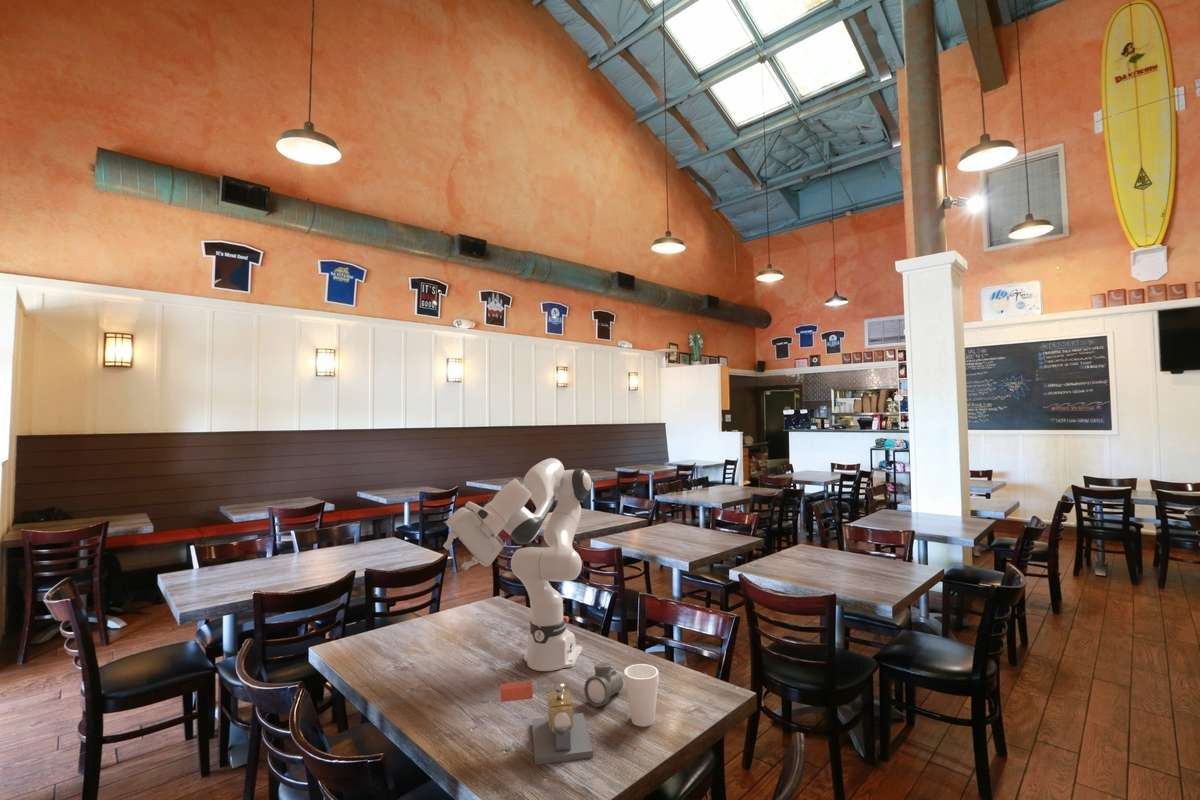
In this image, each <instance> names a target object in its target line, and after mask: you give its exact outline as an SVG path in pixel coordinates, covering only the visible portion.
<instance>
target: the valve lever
mask: <svg viewBox="0 0 1200 800" xmlns="http://www.w3.org/2000/svg"><path fill="white" fill-rule="evenodd" d="M564 690H566V683H565V682H563V681H556V682H555V683H546V684H538V685H537V684H536V685H533V680H531V681H520V682H512V683H501V684H500V702H502V703H505V702H512V701H513V702H514V701H523V700H532V699H533V697H534V696H533V694H542V693H548V692H551V691H557V692H561V691H564Z"/></svg>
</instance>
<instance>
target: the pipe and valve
mask: <svg viewBox="0 0 1200 800" xmlns="http://www.w3.org/2000/svg"><path fill="white" fill-rule="evenodd" d="M546 695H547V717H548V721H549V729H550V730H552V732H555V747H556V752H563V751H571V734H570V730H573V728H572V727H573V714H574V708H573V707H574V703H573V698H572V694H571V691H570V690H569V689H565V690H564V691H561V692H557V691H551V692H547V694H546Z"/></svg>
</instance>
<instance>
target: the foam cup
mask: <svg viewBox="0 0 1200 800" xmlns="http://www.w3.org/2000/svg"><path fill="white" fill-rule="evenodd" d="M623 673H624V674H623V676H624V677H623V678H624V679H623V681H624V683H625V687H626V694H627V700H628V701H627V702H628V707H629V714H630V718H631V719H630V720H631V723H632V724H633V725H635V726H637V727H643V728H644V727H649V726H652V725H654V723H655V718H656V712H657V711H656V708H657V698H658V687H659V682H660V673H659V669H658V668H657V667H655V666H654V665H651V664H646V663H637V664H636V663H635V664H632V665H629V666H626V667H625V668H624V670H623Z"/></svg>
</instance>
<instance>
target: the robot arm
mask: <svg viewBox="0 0 1200 800" xmlns="http://www.w3.org/2000/svg"><path fill="white" fill-rule="evenodd" d="M592 487H593V480H592V476H591V474H590V473H589V472H588V471H587V469H585V468H584V469H583V468H575V469H566V470H565V466H564V465H563V463H562V462H561V461H560V460H559V459H558V458H554V457H550V458H546V459H544V460H541V461H540V462H538V463H537V464H535V465H533V466H532V467H531V468H530V469H529V470H528V471H527V472H526V474H525V475H524V479H523V481H521V480H520V479H519V478H514V479H512V480H511V481H509V482H508V483H507V484H505V485H504V486H503V487H501V489H499V490H496V492H495V493H494V494H493V495H492V496H491V497H490V498H489V499H488V501H487V503H486V504H485V505H484V506H482V505H478V504H477V503H475V502H472V501H471V500H470V501H467V502H466V503H465V504H464V506H462V507H460V508H458V509H457V510H456V511H454V512H453V513H452V514H451V515H450V516H449V517H448V518H447V520H446V524H445V525H446V526H447V527H448V528H449V530H451V531H450V533H449V534H448V536H447V539H446V541H445V542H444V543H443V546H442V547H443V548H444V549H445V550H446V551H450V549H451V548H452V547H453V544H452V543H453V541H454V539H457V538H458V539H459V541H461V543H462V544H463V545H464V546H465V547H466V549H467V550H468V551H469V552H470V553H471V554H472V555H473V556H472V557H471V560H469V561H466V560H464V562H463V563H462V564H461V565H460V566H461V568H462V569H463V570H464V571H467V570H468V569H469V568H470V567H472V566H475V565H477V564H479V563H480V565H482V566H483V567H490V565H492V563H493V562H494V561H495V560H496V559H497V557H498V556H499V554H500V553H501V552H502V551H503V549H504V539H502V538H501V536H500V535H499V534H500V532H502V531H505V532H506V533H507V534H508V535H509V536H510V537H511V538H512V540H513V541H514V542H515V544H517V545H528V544H529V543H532V542H533V540H534V539H535V538H536V537H537V536H538V534H539V532H540V530H541V527H542V526H543V524H544V521H545V519H546V517H547V515H548V514H549V513H550V510H551V508H552V507H553V505H554V502H555V501H557V504H556V506H555V507H554V509H553V511H552V513H551V514H550V517H549V519H548V521H547V523H546V524H545V525H546V526H545V528H544V530H543V539H544V541H545V544H547V546H548V547H543V546H542V547H541V546H528V547H522V548H521V547H520V548H517V549H516V550H515V551H514V553H513V554H512V556H511V560H510V567H511V570H512V573H513V574H514V576H515V577H517V578H518V579H519V580H520V581H521V583H522V584H523V586H524V587H525V590H526V592H527V595H528V598H529V605H530V618H531V619H530V622H529V631H530V632H529V633H530V634H529V635H528V636H527V642H526V654H525V655H524V656H523V660H524V661H525V662H526V665H527V667H529V668H530V669H532V670H534V671H539V672H553V671H557V670H560V669H565V668H572V667H574V666H575V665H576V662H577V660H578V659H577V658H579V657H580V655H581V653H582V652H583V647H582V646H581V645H578V644H577V643H576V642H577V641H576V636H575V634H574V632H572V631H570V629H568V628H567V625H566V623H568V622H569V620H570V618H569V616H566V615H564V603H563V602H564V600H563V597H562V594H561V593H560V592H559V591H557V590H556V589H555V588H553V587H552V585H551V583H550V581H551V582H559V583H560V582H561V583H562V582H570V581H575V580H576V579H577V578H578V577H579V575H580V574H581V572H582V566H583V565H582V564H583V562H582V561H583V560H582V559H581V556H580V554H579V553H578V552H577V551H576V550H575V549H574V547H573V541H574V538H575V535H576V532H577V530H578V527H579V524H580V521H581V516H582V506H581V504H580V503H582V502H584V501H586V499H587V496H588V495H589V494H590V492H591V490H592ZM529 500H531V501H532V503H533V504H534V506H535V508H536V509H535V510H534V513H533V512H531V511H530V510H529V509H528V508H526V506H525V505H526V504H527V503H528V501H529ZM581 651H582V652H581ZM579 654H580V655H579ZM578 656H579V657H578Z"/></svg>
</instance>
